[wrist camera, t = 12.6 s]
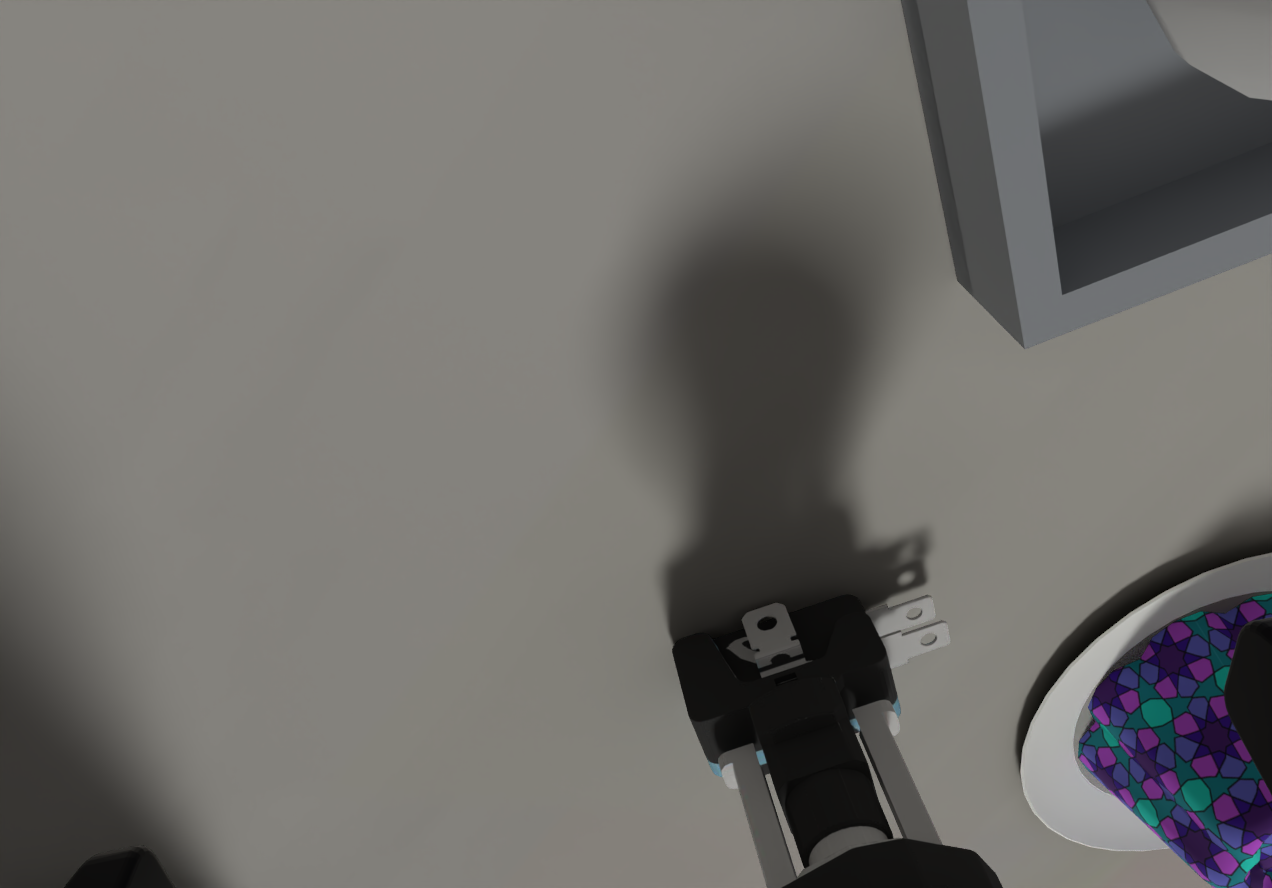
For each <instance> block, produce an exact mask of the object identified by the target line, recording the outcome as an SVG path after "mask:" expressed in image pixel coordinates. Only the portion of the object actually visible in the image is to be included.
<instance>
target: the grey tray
mask: <svg viewBox="0 0 1272 888" xmlns="http://www.w3.org/2000/svg"><path fill="white" fill-rule="evenodd" d="M901 2H902V7H903V12H904V17H905V22H906V27H907V32H908V37H909V42H910V47H911V52H912V57H913V62H914V67H915V72H916V77H917V82H918V87H919V92H920V97H921V101H922V106H923V111H924V116H925V121H926V126H927V131H928V136H929V141H930V146H931V151H932V156H933V161H934V166H935V171H936V176H937V181H938V186H939V191H940V196H941V201H942V206H943V211H944V216H945V221H946V226H947V231H948V236H949V241H950V246H951V251H952V256H953V261H954V266H955V271H956V276H957V281H958V282H959V283H960V284H961V285H962V286H963V287H964V288H965V289H966V290H967V291H968V292H969V293H970V294H971V295H972V296H973V297H974V298H975V299H976V300H977V301H978V302H979V303H980V304H981V305H982V306H983V307H984V308H985V309H986V310H987V311H988V312H989V313H990V314H991V315H992V316H993V317H994V318H995V320H996V321H997V322H998V323H999V324H1000V325H1001V326H1002V327H1003V328H1004V329H1005V330H1006V331H1007V332H1008V333H1009V334H1010V335H1011V336H1012V337H1013V338H1014V339H1015V340H1016V341H1017V342H1018V343H1019V344H1020V345H1021V346H1022V347H1023V348H1024V349H1027V348H1029V347H1032V346H1034V345H1037V344H1039V343H1042V342H1045V341H1047V340H1050V339H1052V338H1055V337H1057V336H1060V335H1063V334H1065V333H1068V332H1070V331H1073V330H1075V329H1078V328H1081V327H1083V326H1086V325H1088V324H1091V323H1093V322H1096V321H1099V320H1101V319H1104V318H1106V317H1109V316H1112V315H1114V314H1117V313H1119V312H1122V311H1124V310H1127V309H1130V308H1132V307H1135V306H1137V305H1140V304H1142V303H1145V302H1148V301H1150V300H1153V299H1155V298H1158V297H1160V296H1163V295H1166V294H1168V293H1171V292H1173V291H1176V290H1178V289H1181V288H1184V287H1186V286H1189V285H1191V284H1194V283H1196V282H1199V281H1202V280H1204V279H1207V278H1209V277H1212V276H1214V275H1217V274H1220V273H1222V272H1225V271H1227V270H1230V269H1232V268H1235V267H1238V266H1240V265H1243V264H1245V263H1248V262H1250V261H1253V260H1256V259H1258V258H1261V257H1263V256H1266V255H1269V254H1271V253H1272V100H1265V99H1257V98H1249V97H1247V96H1246V95H1244V94H1242V93H1240V92H1238V91H1236V90H1235V89H1233V88H1231V87H1229V86H1227V85H1226V84H1224V83H1222V82H1220V81H1218V80H1216V79H1215V78H1213V77H1211V76H1209V75H1207V74H1206V73H1204V72H1202V71H1200V70H1198V69H1197V68H1195V67H1193V66H1191V65H1190V64H1188V63H1187V62H1186V61H1185V60H1184V59H1183V58H1181V57H1180V56H1179V55H1178V54H1177V53H1176V52H1175V51H1174V49H1173V48H1172V46H1171V44H1170V42H1169V41H1168V39H1167V37H1166V35H1165V33H1164V32H1163V30H1162V28H1161V26H1160V25H1159V23H1158V21H1157V19H1156V17H1155V16H1154V14H1153V12H1152V10H1151V9H1150V7H1149V5H1148V3H1147V1H1146V0H901Z"/></svg>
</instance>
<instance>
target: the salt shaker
mask: <svg viewBox="0 0 1272 888" xmlns="http://www.w3.org/2000/svg"><path fill="white" fill-rule="evenodd" d="M1146 1H1147V3H1148V5H1149V7H1150V9H1151V10H1152V12H1153V14H1154V16H1155V17H1156V19H1157V21H1158V23H1159V25H1160V26H1161V28H1162V30H1163V32H1164V33H1165V35H1166V37H1167V39H1168V41H1169V42H1170V44H1171V46H1172V48H1173V49H1174V51H1175V52H1176V53H1177V54H1178V55H1179V56H1180V57H1181V58H1183V59H1184V60H1185V61H1186V62H1187V63H1188V64H1190V65H1191V66H1193V67H1195V68H1197V69H1198V70H1200V71H1202V72H1204V73H1206V74H1207V75H1209V76H1211V77H1213V78H1215V79H1216V80H1218V81H1220V82H1222V83H1224V84H1226V85H1227V86H1229V87H1231V88H1233V89H1235V90H1236V91H1238V92H1240V93H1242V94H1244V95H1246V96H1247V97H1249V98H1257V99H1265V100H1272V0H1146Z"/></svg>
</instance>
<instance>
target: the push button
mask: <svg viewBox="0 0 1272 888" xmlns="http://www.w3.org/2000/svg"><path fill="white" fill-rule="evenodd" d="M915 607H918V608H921V613H920V614H919V615H918V616H916V617H914V618H908V617H907V616H906V614H907V612H908V611H909V610H910V609H912V608H915ZM935 616H936V615H935V610H934V605H933V600H932V597H931V596H929V595H925V596H922V597H919V598H917V599H914V600H911V601H908V602H905V603H902V604H899V605H896V606H893V607H890V608H888V606H887V604H885V605H882V606H879V607H876V608H873V609H870V610H867V611H864V609H863V607H862V605H861V603H860V601H859V599H858V598H857V597H855V596H853V595H843V596H840V597H837V598H834V599H831V600H828V601H825V602H822V603H819V604H816V605H813V606H810V607H807V608H805V609H802V610H799V611H796V612H793V613H790V614H788V612H787V610H786V607H785V605H783V604H779V603H774V604H771V605H768V606H765V607H762V608H759V609H756V610H753V611H750V612H747V613H746V614H745V615H744V617H743V618H742V623H743V626H744V628H745V629H743V630H740V631H737V632H734V633H731V634H728V635H725V636H722V637H719V638H717V639H714V640H712V638H711V637H710V636H709V635H708V634H704V633H699V634H695V635H692V636H689V637H686V638H683V639H681V640H679V641H678V642H677V643H675V645H674V646H673V649H672V653H673V657H674V661H675V664H676V668H677V672H678V676H679V680H680V684H681V688H682V692H683V696H684V699H685V703H686V707H687V711H688V715H689V717H690V720H691V722H692V725H693V727H694V729H695V732H696V734H697V736H698V739H699V741H700V743H701V746H702V748H703V750H704V753H705V755H706V758H707V760H708V762H709V765H710V767H711V769H712V771H713V772H714V774H715V775H718V776H720V777H723V779H724V781H725V784H726V786H727V787H728V788H731V789H739V792H740V795H741V799H742V802H743V806H744V809H745V813H746V816H747V820H748V823H749V827H750V830H751V834H752V837H753V841H754V844H755V848H756V851H757V854H758V858H759V861H760V865H761V868H762V872H763V875H764V879H765V882H766V886H767V888H1003V887H1002V885H1001V883H1000V881H999V879H998V877H997V875H996V873H995V872H994V871H993V870H992V869H991V868H990V867H989V866H988V865H987V864H986V863H985V862H984V860H983V859H982V858H981V857H980V856H979V855H978V854H977V853H975V852H974V851H972V850H968V849H962V848H957V847H951V846H945V845H942V842H941V840H940V838H939V836H938V834H937V831H936V829H935V827H934V825H933V823H932V821H931V818H930V816H929V814H928V812H927V810H926V807H925V805H924V803H923V801H922V799H921V797H920V794H919V792H918V790H917V788H916V786H915V783H914V781H913V779H912V777H911V775H910V772H909V770H908V768H907V766H906V764H905V762H904V759H903V757H902V755H901V753H900V751H899V748H898V746H897V744H896V742H895V740H894V738H893V736H895V735H897V733H898V732H899V731H900V725H899V721H898V717H899V715H900V713H901V710H900V705H899V700H898V696H897V692H896V688H895V684H894V680H893V676H892V672H891V668H894V667H897V666H900V665H903V664H906V663H908V658H911V657H914V656H917V655H920V654H923V653H926V652H928V651H931V650H934V649H937V648H940V647H943V646H946V645H948V644H949V643H950V642H951V641H950V636H949V631H948V626H947V623H946V621H942V620H941V621H939V622H936V623H933V624H930V625H927V626H924V627H921V628H918V629H915V630H912V631H909V632H906V633H903V634H902V633H901V630H903V629H906V628H908V627H911V626H914V625H917V624H920V623H923V622H926V621H929V620H932V619H934V617H935ZM767 617H773V618H775V619H772V620H769V621H766V622H763V623H761V624H758V623H759V621H760V620H762V619H764V618H767ZM928 633H934V634H936V637H935V639H934V640H933V641H932V642H930V643H927V644H923V643H921V642H920V640H921V638H922V637H923V636H924V635H926V634H928ZM858 732H860V734H859V736H860V738H861V740H862V743H863V745H864V747H865V750H866V752H867V754H868V757H869V759H870V761H871V764H872V766H873V768H874V771H875V773H876V775H877V778H878V780H879V782H880V785H881V787H882V789H883V792H884V794H885V796H886V799H887V801H888V804H889V806H890V808H891V811H892V813H893V815H894V818H895V820H896V822H897V825H898V827H899V829H900V832H901V834H902V836H903V838H895V839H893V834H892V831H891V829H890V827H889V824H888V822H887V819H886V817H885V815H884V812H883V810H882V808H881V805H880V803H879V800H878V797H877V794H876V790H875V787H874V783H873V780H872V776H871V773H870V769H869V766H868V763H867V761H866V758H865V756H864V754H863V751H862V749H861V746H860V744H859V742H858V739H857V737H856V735H855V733H858ZM767 774H770V775H771V778H772V781H773V784H774V787H775V790H776V793H777V796H778V799H779V801H780V804H781V807H782V809H783V812H784V815H785V817H786V820H787V823H788V825H789V828H790V831H791V833H792V834H793V836H794V839H795V842H796V845H797V848H798V851H799V854H800V857H801V860H802V863H803V866H804V868H805V869H803V870H802V872H801V873H800V874H799V876H798V877H797V876H796V872H795V869H794V866H793V863H792V860H791V857H790V853H789V850H788V847H787V844H786V841H785V838H784V834H783V831H782V828H781V825H780V822H779V819H778V816H777V812H776V809H775V806H774V803H773V800H772V797H771V793H770V790H769V787H768V784H767V781H766V778H765V775H767Z"/></svg>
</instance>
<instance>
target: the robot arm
mask: <svg viewBox="0 0 1272 888" xmlns="http://www.w3.org/2000/svg"><path fill="white" fill-rule="evenodd" d="M1224 701H1225V706H1226V709H1227V712H1228V715H1229V717H1230V719H1231V722H1232V723H1233V725H1234V727H1235V729H1236V731H1237V733H1238V734H1239V736H1240V738H1241V740H1242V742H1243V744H1244V745H1245V747H1246V749H1247V751H1248V753H1249V755H1250V756H1251V758H1252V760H1253V762H1254V764H1255V766H1256V767H1257V769H1258V771H1259V773H1260V775H1261V777H1262V779H1263V780H1264V782H1265V784H1266V786H1267V788H1268V790H1269V791H1270V793H1271V795H1272V617H1270V618H1265V619H1260V620H1255V621H1251V622H1249V623H1247V624H1246V625H1245V626H1244V627H1243V628H1242V629H1241V631H1240V633H1239V635H1238V639H1237V643H1236V646H1235V650H1234V654H1233V657H1232V661H1231V665H1230V668H1229V672H1228V675H1227V679H1226V683H1225V687H1224ZM64 888H175V886H174V885H173V883H172V881H171V880H170V878H169V877H168V875H167V873H166V872H165V870H164V868H163V867H162V865H161V863H160V862H159V860H158V858H157V857H156V855H155V854H154V853H153V851H152V850H151V849H149V848H147V847H145V846H133V847H128V848H123V849H118V850H113V851H108V852H103V853H100V854H97V855H94V856H93V857H91V858H90V859H89V860H87V861H86V862H85V863H84V864H83V865H82V866H81V867H80V868H79V869H78V871H77V872H76V873H75V874H74V876H73V877H72V878H71V879H70V881H69V882H68V883H67V884H66V886H65V887H64Z"/></svg>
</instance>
